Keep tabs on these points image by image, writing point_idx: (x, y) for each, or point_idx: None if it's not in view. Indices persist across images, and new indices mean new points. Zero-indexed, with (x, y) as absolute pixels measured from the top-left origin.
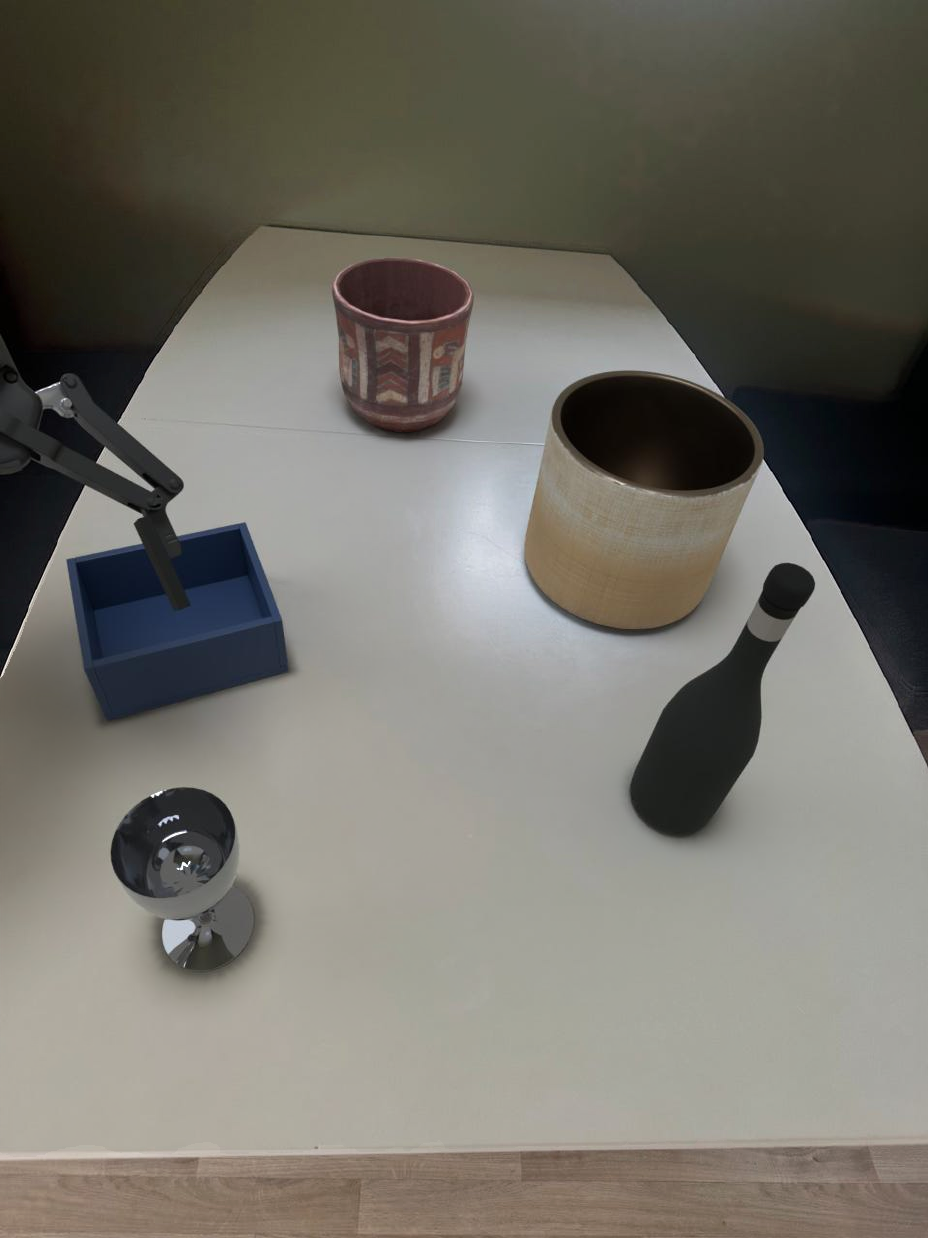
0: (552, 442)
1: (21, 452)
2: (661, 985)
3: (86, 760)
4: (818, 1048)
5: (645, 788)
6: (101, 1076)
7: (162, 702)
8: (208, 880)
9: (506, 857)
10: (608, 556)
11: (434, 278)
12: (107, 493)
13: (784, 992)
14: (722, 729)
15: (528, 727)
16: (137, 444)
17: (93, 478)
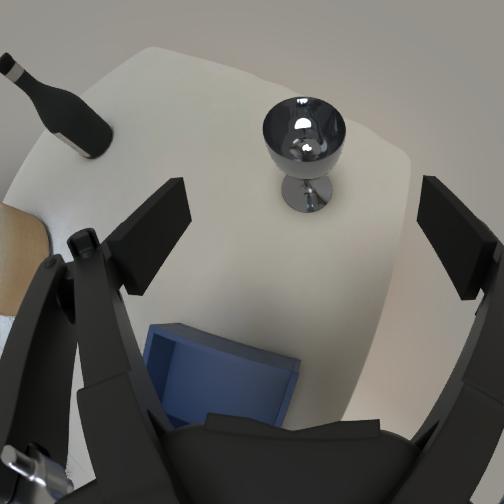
0: None
1: (183, 437)
2: (162, 87)
3: (325, 337)
4: (146, 63)
5: (99, 132)
6: (375, 156)
7: (261, 350)
8: (296, 153)
9: (163, 147)
10: (11, 226)
11: None
12: (124, 317)
13: (138, 76)
14: (61, 90)
15: (106, 203)
16: (17, 322)
17: (106, 307)
